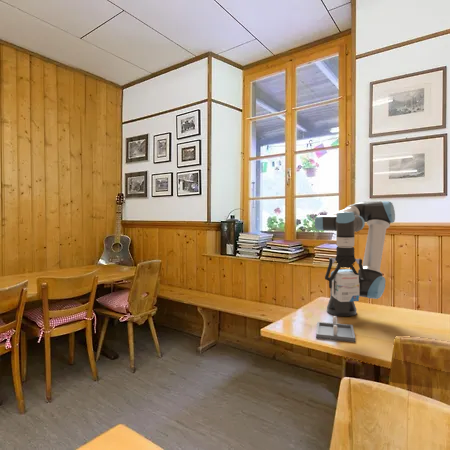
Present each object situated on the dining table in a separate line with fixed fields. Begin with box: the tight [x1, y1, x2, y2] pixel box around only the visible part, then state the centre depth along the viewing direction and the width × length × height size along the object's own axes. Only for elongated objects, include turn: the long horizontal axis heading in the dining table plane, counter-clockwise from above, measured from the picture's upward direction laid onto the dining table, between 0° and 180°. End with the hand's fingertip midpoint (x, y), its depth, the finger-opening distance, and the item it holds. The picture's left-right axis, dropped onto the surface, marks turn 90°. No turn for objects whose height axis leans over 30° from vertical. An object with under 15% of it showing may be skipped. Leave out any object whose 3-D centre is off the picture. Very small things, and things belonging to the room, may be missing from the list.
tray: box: [315, 315, 356, 343], centre depth 146 cm, size 16×16×6 cm
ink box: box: [333, 272, 360, 302], centre depth 144 cm, size 8×8×12 cm
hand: (345, 296), depth 144 cm, fingers closed on ink box, 10 cm apart
